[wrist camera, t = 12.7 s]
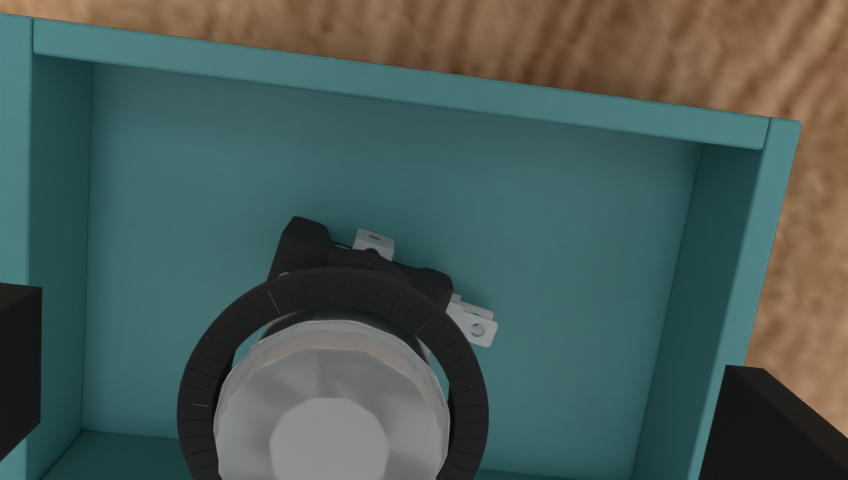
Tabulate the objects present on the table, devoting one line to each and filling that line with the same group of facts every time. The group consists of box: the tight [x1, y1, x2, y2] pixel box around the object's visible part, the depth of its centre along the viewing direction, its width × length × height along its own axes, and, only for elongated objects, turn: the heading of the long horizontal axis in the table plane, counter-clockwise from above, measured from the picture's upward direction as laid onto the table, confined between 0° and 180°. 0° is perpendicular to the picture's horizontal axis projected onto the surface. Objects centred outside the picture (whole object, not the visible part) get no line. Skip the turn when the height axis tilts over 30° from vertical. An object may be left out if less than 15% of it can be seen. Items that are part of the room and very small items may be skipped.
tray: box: [0, 13, 802, 480], centre depth 20 cm, size 19×13×4 cm
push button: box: [177, 216, 498, 480], centre depth 16 cm, size 7×5×10 cm
